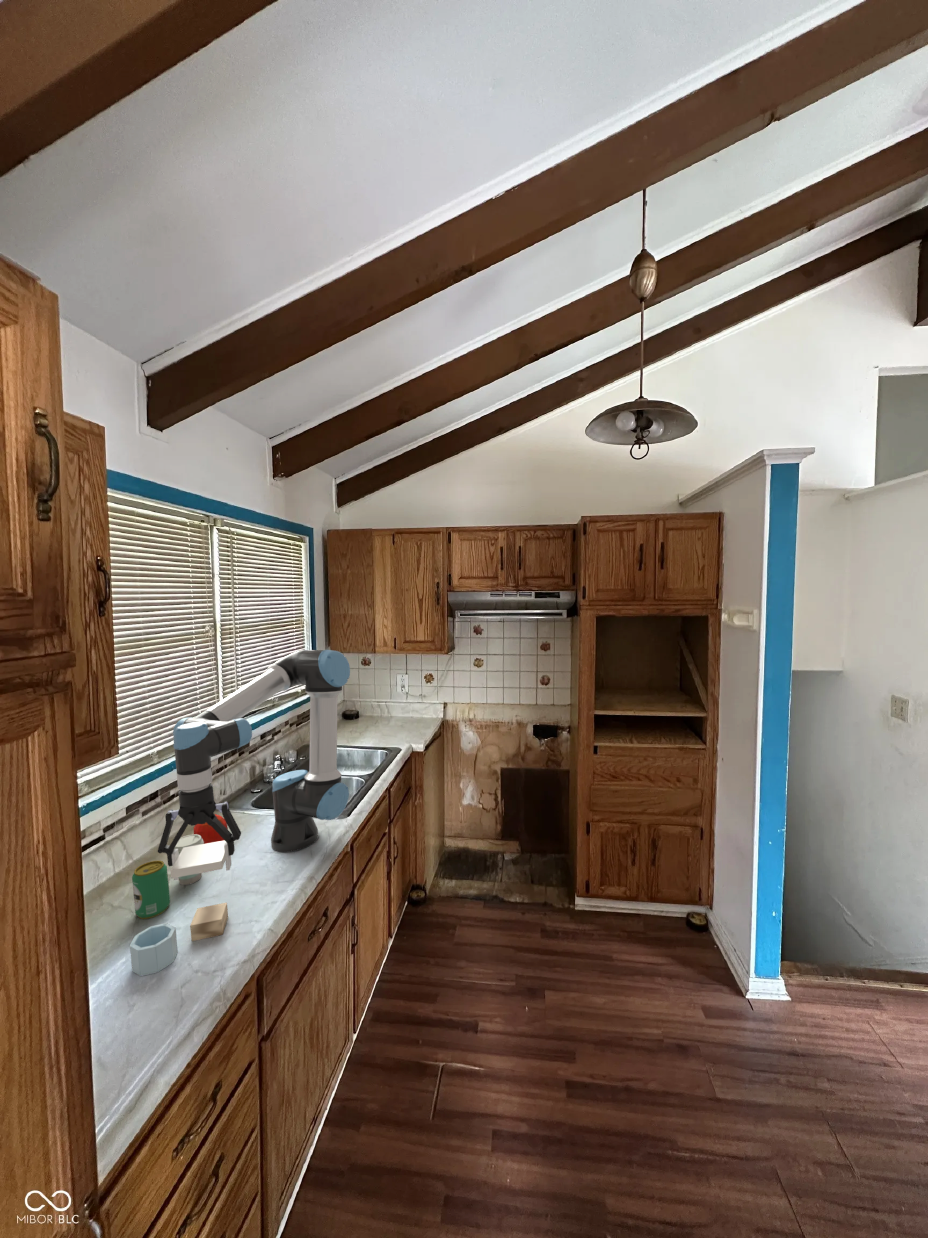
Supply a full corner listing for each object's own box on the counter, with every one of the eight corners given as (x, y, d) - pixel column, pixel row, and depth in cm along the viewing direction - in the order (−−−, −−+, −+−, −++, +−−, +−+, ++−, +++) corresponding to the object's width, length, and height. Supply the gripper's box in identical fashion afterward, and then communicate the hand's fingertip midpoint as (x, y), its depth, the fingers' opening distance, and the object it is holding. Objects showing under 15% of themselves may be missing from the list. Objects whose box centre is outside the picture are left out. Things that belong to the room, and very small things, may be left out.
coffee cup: (192, 889, 144) (188, 848, 143) (167, 887, 146) (163, 847, 145) (212, 872, 152) (209, 834, 152) (188, 870, 154) (185, 832, 153)
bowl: (180, 944, 121) (178, 920, 120) (170, 969, 113) (167, 944, 112) (141, 953, 119) (139, 928, 118) (127, 979, 111) (125, 953, 110)
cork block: (228, 917, 130) (226, 902, 130) (222, 934, 124) (221, 919, 123) (198, 923, 128) (197, 908, 128) (191, 941, 122) (190, 925, 121)
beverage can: (131, 912, 135) (127, 869, 134) (164, 897, 141) (160, 856, 140) (141, 924, 129) (136, 879, 129) (174, 908, 135) (170, 865, 135)
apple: (235, 840, 172) (232, 808, 171) (213, 856, 162) (210, 821, 161) (210, 838, 174) (207, 806, 173) (187, 854, 164) (184, 820, 164)
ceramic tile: (230, 847, 131) (229, 839, 131) (222, 869, 121) (221, 861, 120) (184, 855, 128) (183, 847, 128) (171, 878, 118) (170, 870, 118)
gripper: (248, 774, 130) (255, 855, 131) (147, 788, 124) (155, 873, 125) (244, 784, 123) (251, 870, 124) (136, 800, 117) (145, 890, 118)
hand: (203, 872), depth 125 cm, fingers closed on ceramic tile, 11 cm apart
